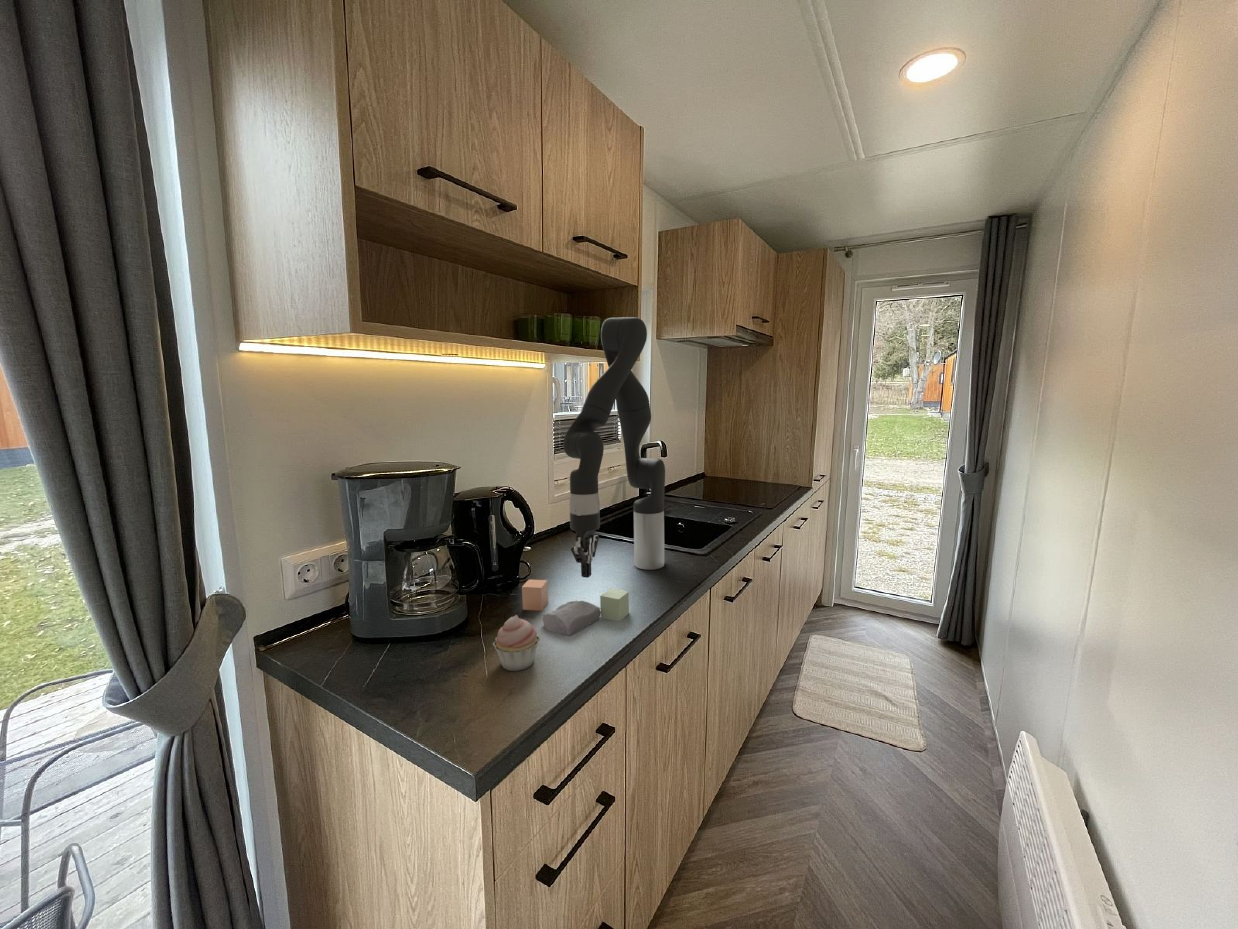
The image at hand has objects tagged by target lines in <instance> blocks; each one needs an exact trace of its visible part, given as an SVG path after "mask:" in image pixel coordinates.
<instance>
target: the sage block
mask: <svg viewBox="0 0 1238 929" xmlns="http://www.w3.org/2000/svg"><path fill="white" fill-rule="evenodd" d="M599 599H600V602H599V603H600V611H601V615H600V618H602V619H606V620H609V621H610V620H611V621H616V622H621V620H624V618H625V617H626V616H628V615H629V613H630V605H629V604H630V602H629V600H630V599H629V591H627V590H621V589H616V588H608V590H606V591H605V592H604V593H601V594H600V595H599Z"/></svg>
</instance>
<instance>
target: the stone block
mask: <svg viewBox="0 0 1238 929" xmlns="http://www.w3.org/2000/svg"><path fill="white" fill-rule="evenodd" d="M600 618H601V607H600V606H597V605H595V604H593V603H591V602H589V601H585V600H572V601H567V602H566V603H563V604H561V605H560V606H558V607H557V608H555V610H552V611H550V612H547V613H544V614H543V617H542V622H543V627H544V628H545V629H546V630H547V631H550V632H554V633H559V634H560V635H564V636H566V637H570V636H572V635H574V634H576V633H578V632H580V631H581V630H583V629H584V628H587V627H588V626H590V625H592V624H594V623H595V622H597V621H598V620H599V619H600Z"/></svg>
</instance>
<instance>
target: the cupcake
mask: <svg viewBox="0 0 1238 929" xmlns="http://www.w3.org/2000/svg"><path fill="white" fill-rule="evenodd" d="M541 639H542V638H541V636H539V635H538V632H537V629H536V627H534V626H533V625H532V624H531V623H530V622H529V621H527V620H526V619H522V618H519V616H518V614H515V615H514V616H510V617H509V618H508V619H507V620H506V621H505V622H504V624H503V626H501V627H500V629H499V630H498V632H497V637H495V641H494V642H493V643H492V645H493V647H494V649H495V651H496V652H497V655H498V658H499V661H500V664H501V666H502V668H503V669H505V670H506V671H509V672H511V671H512V672H518V671H523V670H527V669H528V668H530V667H531V666H532V665H533V664H534V661H535V656H536V652H537V651H536V650H537V648H538V645H539V644H540V643H539V642H540V640H541Z"/></svg>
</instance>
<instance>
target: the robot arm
mask: <svg viewBox="0 0 1238 929" xmlns="http://www.w3.org/2000/svg"><path fill="white" fill-rule="evenodd" d="M647 338H648V330H647V326H646V323H645V322H644V321H643V320H642V319H641V318H639V317H632V316H631V317H630V316H629V317H627V316H625V317H609V318H606V319H605V320H604V321H603V323H602V325H601V328H600V340H601V345H602V350H603V353H604V356H605V359H606V363H607V367H608V368H607V369H606V370H605V371H604V372H603V373H602V374H601V375H600V376H599V378H598V379H596V381H595V382H594V383H593V384H592V385H591V387H590V388H589V391H588V393H587V396H586V398H585V400H584V403H583V406H582V408H581V411H580V412H579V414H578V415H577V417H575V420H573V422H572V423H571V425H570V427H569V428H568V430H567V431H566V433H565V436H564V439H563V450H564V453H565V455H567V456H568V457H569V458H571V459H577V460H579V465H578V468H575V469H573V470H571V472H570V474H569V490H570V491H569V493H570V494H569V525H570V526H569V528H570V529H571V530H572V531H575V538H574V540H575V545H574V546H571V548H570V551H571V553H572V555H573V558H574V560H575V562H576V563H578V564H580V574H581V575H580V576H581V578H586V579H587V578H590V577H591V576H592V562H593V558H595V557H596V553H597V548H598V544H599V539H600V536H599V535H596V530H599V529H600V526H601V519H600V518H601V516H600V515H601V514H600V512H601V510H600V508H601V506H600V497H599V473H600V470H601V467H602V466H601V464H602V461H603V457H604V442H603V439H602V437H601V435H600V434H599V433H598V432H595V430H597V429H599V428H601V427H603V426H605V425H606V424H607V422H608V421H609V418H610V414H611V413H612V410H613V407H614V404H616V410H617V416H618V420H619V424H620V429H621V430H620V431H621V434H622V440H623V447H624V454H625V456H624V457H625V466H626V467H625V468H626V475H627V481H628V483H629V485H630V486H631V487H632V488H634V489H644V490H650V493H649V495H648V496H646V497H642V498H639V499H637V500H635V501H634V502H633V507H632V508H633V550H634V551H633V552H634V553H633V554H634V556H633V557H634V559H633V560H634V567H636V568H638V569H642V570H651V571H652V570H658V569H662V568H663V567H664V566H665V511H664V510H665V506H664V505H665V489H666V488H665V486H666V485H665V483H666V466H665V462H664V461H663V460H662V458H661V459H660V458H650V457H647V458H645V457H641V456H640V445H641V443H642V440H643V438H644V436H645V434H646V432H647V430H648V428H649V427H650V424H651V421H652V412H651V405H650V399H649V398H650V397H649V395H648V393H647V391H646V390H645V387H644V386H643V385H642V384H641V382H640V380H639V379H638V378H637V377H636V375H635V374H634V372H633V371H632V369H633V367H634V365H635V364H636V362H637V361H638V359H639V357H640V355H641V354H642V352H643V350H644V347H645V345H646V342H647Z"/></svg>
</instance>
